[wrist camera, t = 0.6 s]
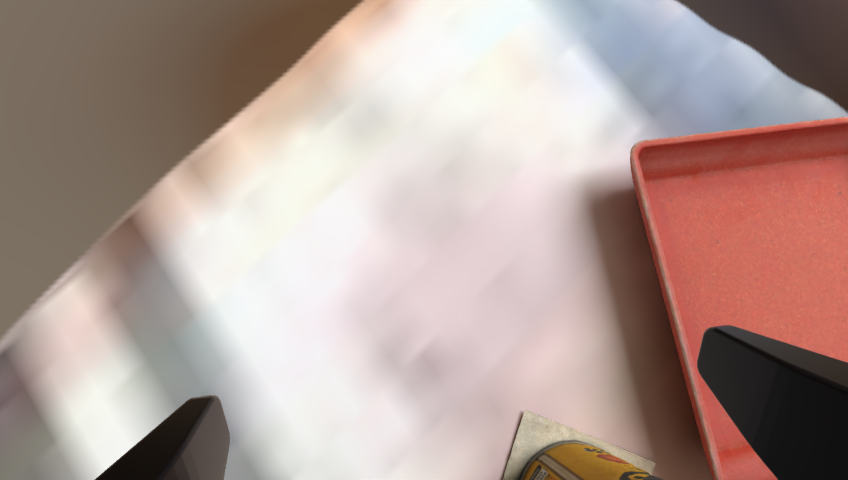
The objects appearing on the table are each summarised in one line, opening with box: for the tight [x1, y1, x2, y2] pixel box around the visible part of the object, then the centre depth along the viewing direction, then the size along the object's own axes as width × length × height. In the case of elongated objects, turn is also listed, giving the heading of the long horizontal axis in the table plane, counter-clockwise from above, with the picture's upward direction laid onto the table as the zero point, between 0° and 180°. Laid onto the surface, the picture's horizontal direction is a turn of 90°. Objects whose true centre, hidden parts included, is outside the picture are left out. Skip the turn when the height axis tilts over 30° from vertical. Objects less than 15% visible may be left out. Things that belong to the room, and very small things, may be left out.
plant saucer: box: [630, 117, 848, 480], centre depth 24 cm, size 18×18×3 cm
